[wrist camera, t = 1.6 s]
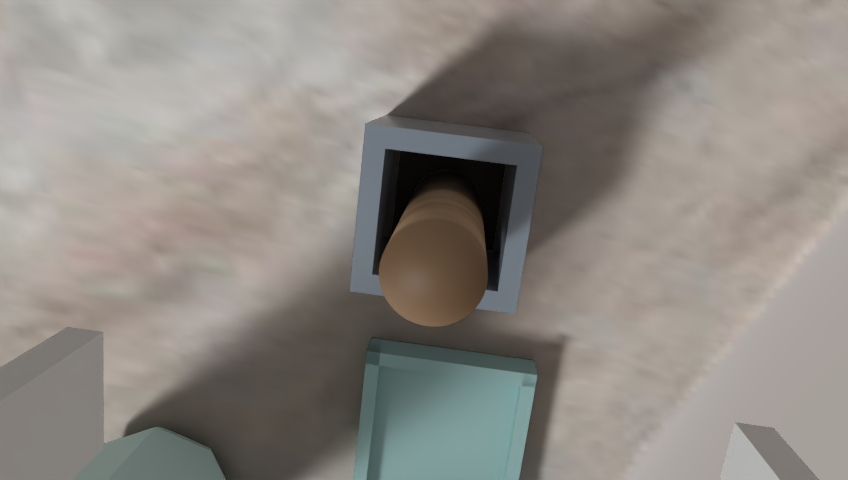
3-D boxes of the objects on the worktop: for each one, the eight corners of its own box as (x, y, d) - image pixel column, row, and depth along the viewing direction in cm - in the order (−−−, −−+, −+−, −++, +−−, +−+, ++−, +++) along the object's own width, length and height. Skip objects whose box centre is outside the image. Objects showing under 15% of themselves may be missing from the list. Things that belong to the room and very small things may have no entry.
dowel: (416, 165, 36) (384, 214, 23) (486, 174, 36) (495, 229, 23) (408, 232, 37) (373, 318, 24) (476, 241, 37) (479, 333, 24)
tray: (371, 337, 39) (366, 351, 37) (534, 360, 39) (537, 375, 37) (352, 518, 42) (346, 539, 41) (502, 541, 42) (503, 563, 40)
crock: (386, 114, 36) (365, 123, 29) (528, 132, 36) (543, 145, 28) (372, 251, 38) (349, 291, 31) (506, 269, 38) (515, 314, 30)
